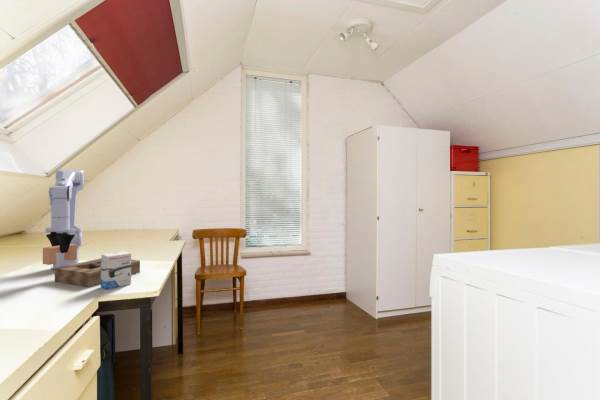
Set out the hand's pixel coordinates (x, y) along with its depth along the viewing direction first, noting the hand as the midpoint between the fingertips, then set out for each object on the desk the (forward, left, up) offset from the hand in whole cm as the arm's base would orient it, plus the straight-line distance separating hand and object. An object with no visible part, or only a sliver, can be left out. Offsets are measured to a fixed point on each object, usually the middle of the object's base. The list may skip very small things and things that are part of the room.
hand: (60, 252), depth 118 cm
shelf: (+10, +8, -10) cm, 17 cm away
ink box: (+26, +2, -11) cm, 28 cm away
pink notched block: (0, 0, -4) cm, 4 cm away
